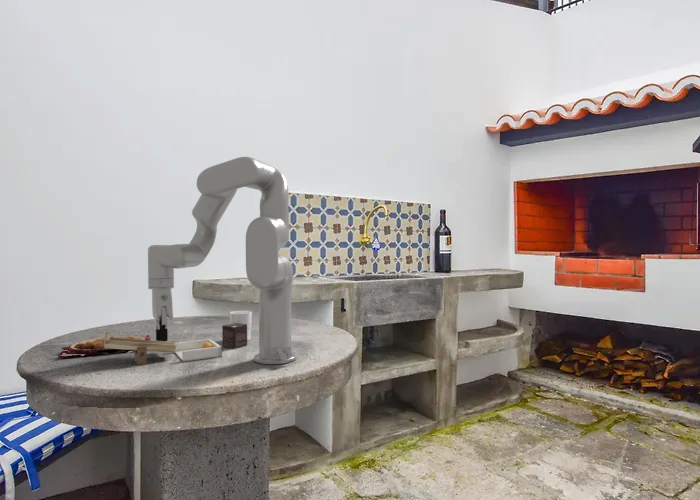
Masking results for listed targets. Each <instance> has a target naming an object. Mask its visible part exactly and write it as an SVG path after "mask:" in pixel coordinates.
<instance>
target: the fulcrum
mask: <svg viewBox="0 0 700 500" xmlns="http://www.w3.org/2000/svg"><path fill="white" fill-rule="evenodd" d="M147 352H148V351H147V347H146V346H140V347H137V350H134V352H133V353H134V358H133V359H134V361H135V362H136V365H137V366H143V365H142V364H144V365H147V363H148V359H147V358H148V357H147V356H148V354H147Z"/></svg>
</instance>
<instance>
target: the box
mask: <svg viewBox="0 0 700 500" xmlns="http://www.w3.org/2000/svg"><path fill="white" fill-rule="evenodd" d="M221 327H222V329H221V330H222V336H221V341H222V342H221V345H222V346H221V347H222V348H230V349H233V350H234V349H235V350H236V349H237V348H242V347H244V346H248V340H247V324H240V323H232V324H230V323H228V324H224V325H222V326H221Z"/></svg>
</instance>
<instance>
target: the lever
mask: <svg viewBox="0 0 700 500" xmlns="http://www.w3.org/2000/svg"><path fill="white" fill-rule="evenodd" d="M110 336H111V337H110ZM115 337H116V336H114V337H113V336H112V335H111V333H110V332H109V331H106V332H105V340H104V347H105V348H111V349H112V350H118V349H126V350H125V351H128V350H137V347H140V346H146V347H147V352H159V353H171V354H172V353H173V354H175V349H176V345H174V342H173V341H156V339H153V340H151V339H150V340H140V339H128V338H115Z"/></svg>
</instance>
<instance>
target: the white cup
mask: <svg viewBox="0 0 700 500" xmlns="http://www.w3.org/2000/svg"><path fill="white" fill-rule="evenodd" d="M252 314H253V311H252V310H233V311H230V312H229V324H232V323H240V324H247V341H250V340H251V338H252V336H251V335H252V333H251V332H252V324H253V323H252V321H253V315H252Z"/></svg>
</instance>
